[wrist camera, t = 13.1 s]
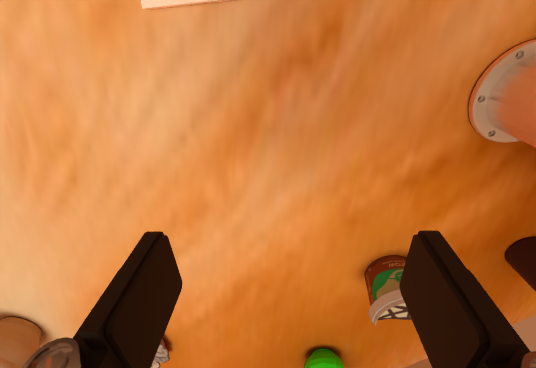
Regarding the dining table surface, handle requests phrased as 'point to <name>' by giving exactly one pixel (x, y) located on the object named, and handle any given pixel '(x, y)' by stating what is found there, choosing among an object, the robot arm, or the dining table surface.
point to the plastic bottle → (323, 360)
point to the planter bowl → (17, 341)
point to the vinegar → (524, 259)
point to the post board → (173, 3)
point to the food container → (386, 289)
